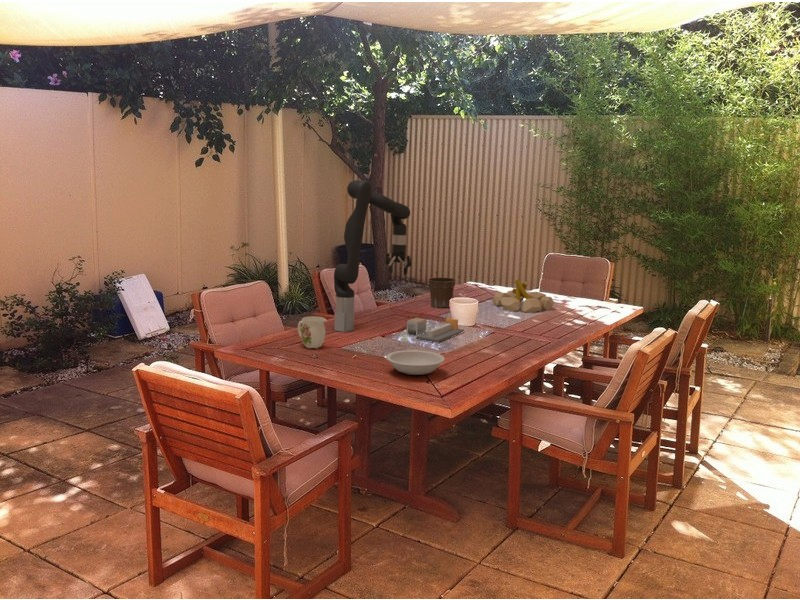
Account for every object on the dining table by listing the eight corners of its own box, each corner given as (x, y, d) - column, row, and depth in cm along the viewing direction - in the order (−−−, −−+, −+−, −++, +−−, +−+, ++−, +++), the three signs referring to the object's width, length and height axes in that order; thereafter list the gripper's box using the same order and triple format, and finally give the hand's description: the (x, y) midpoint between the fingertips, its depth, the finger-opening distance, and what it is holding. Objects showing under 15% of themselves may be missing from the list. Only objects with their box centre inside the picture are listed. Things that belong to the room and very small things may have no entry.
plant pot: (423, 307, 458) (424, 280, 455) (432, 302, 473) (433, 276, 470) (449, 310, 452) (450, 282, 449) (458, 305, 467) (459, 278, 464)
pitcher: (306, 341, 369) (307, 312, 367) (334, 347, 358) (334, 318, 355) (289, 344, 361) (289, 315, 358) (316, 352, 350) (317, 322, 347)
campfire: (484, 302, 479) (486, 275, 476) (534, 301, 489) (536, 274, 486) (509, 314, 446) (511, 285, 443) (562, 312, 456) (564, 283, 453)
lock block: (417, 336, 386) (417, 322, 384) (406, 334, 388) (407, 320, 387) (426, 332, 394) (427, 319, 393) (416, 331, 397) (416, 317, 395)
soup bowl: (425, 362, 337) (426, 347, 336) (455, 377, 317) (455, 361, 315) (375, 368, 326) (376, 353, 325) (403, 384, 305) (403, 367, 304)
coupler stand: (438, 343, 373) (438, 329, 371) (416, 339, 378) (416, 326, 377) (463, 332, 396) (464, 319, 395) (442, 329, 402) (443, 316, 401)
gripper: (383, 242, 413) (382, 273, 416) (407, 245, 406) (406, 276, 409) (390, 241, 419) (389, 271, 422) (414, 244, 413) (413, 274, 415)
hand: (398, 273), depth 415 cm, fingers open, 8 cm apart
